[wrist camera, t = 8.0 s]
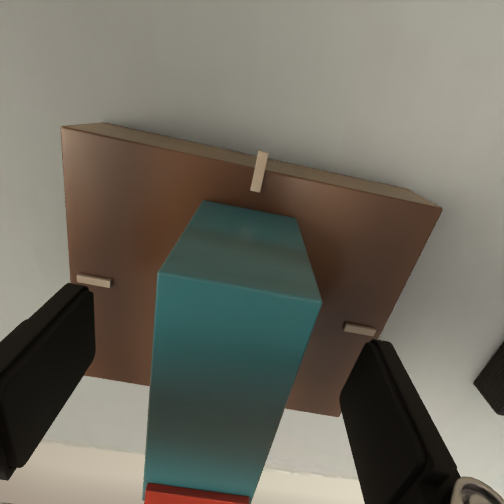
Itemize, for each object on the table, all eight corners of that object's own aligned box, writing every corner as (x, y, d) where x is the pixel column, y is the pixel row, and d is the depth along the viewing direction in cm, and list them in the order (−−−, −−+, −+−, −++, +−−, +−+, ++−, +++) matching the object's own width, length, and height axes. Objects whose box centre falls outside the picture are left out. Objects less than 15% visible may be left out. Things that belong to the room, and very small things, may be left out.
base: (103, 342, 18) (74, 385, 16) (100, 106, 13) (55, 106, 10) (325, 380, 19) (336, 427, 16) (414, 176, 14) (454, 194, 11)
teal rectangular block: (202, 199, 11) (152, 277, 6) (296, 217, 11) (326, 308, 6) (180, 372, 15) (138, 510, 10) (251, 383, 15) (246, 524, 10)
